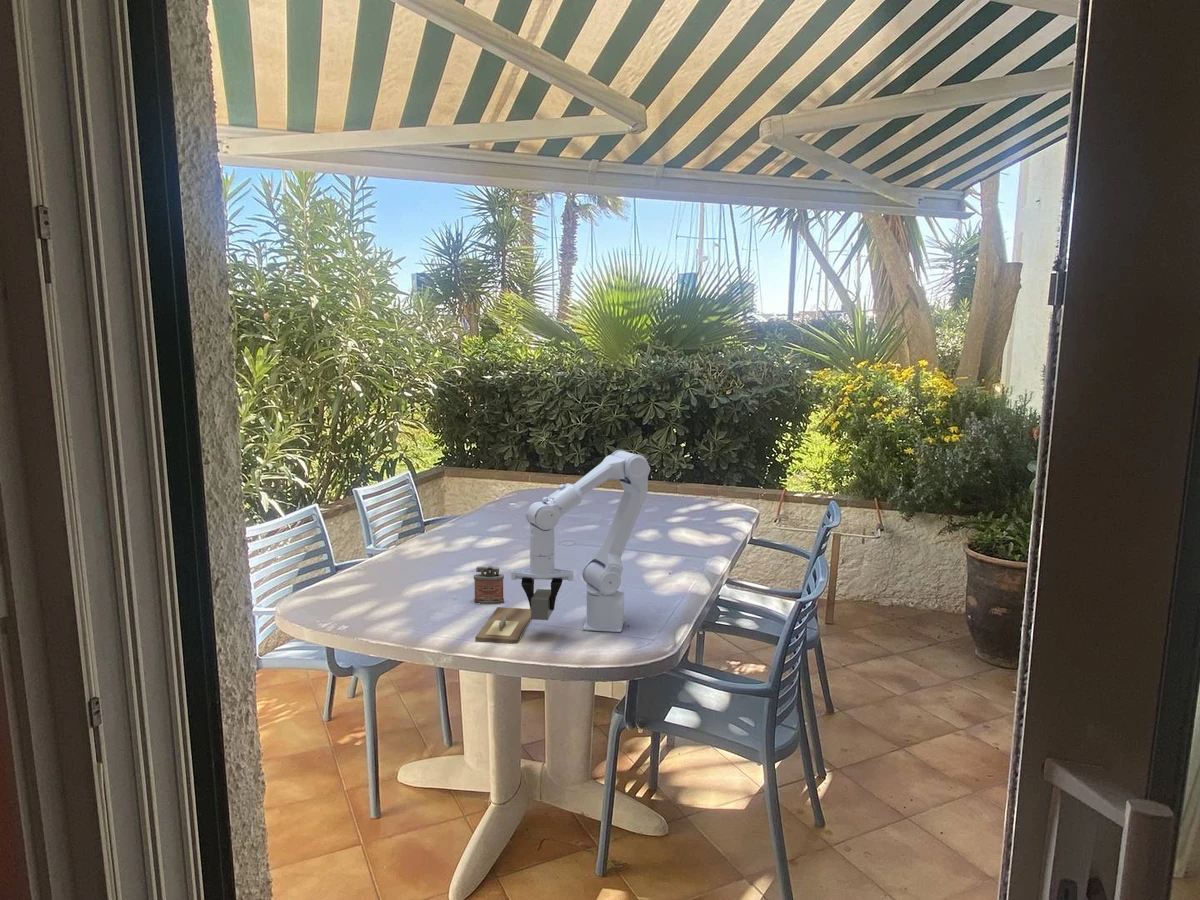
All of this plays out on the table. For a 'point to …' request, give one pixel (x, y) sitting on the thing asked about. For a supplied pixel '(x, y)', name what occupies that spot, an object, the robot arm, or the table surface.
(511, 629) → the pin board
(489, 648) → the table surface
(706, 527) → the table surface
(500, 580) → the lighter
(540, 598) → the block
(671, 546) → the table surface
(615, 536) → the robot arm
